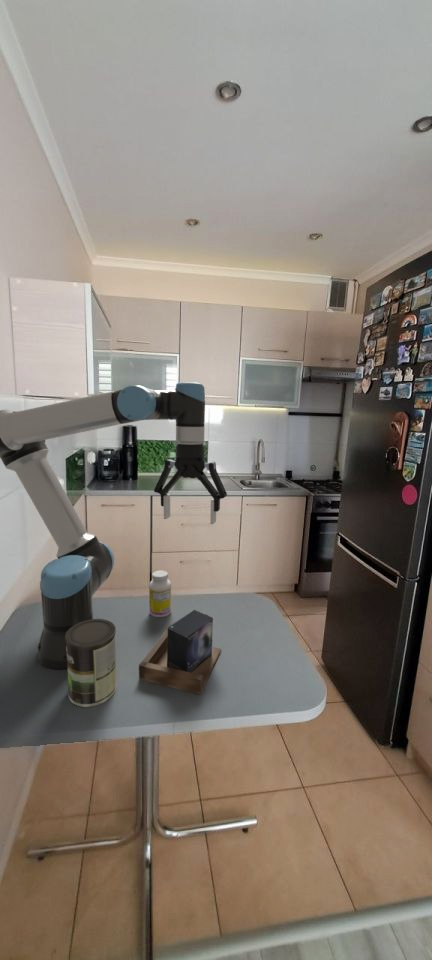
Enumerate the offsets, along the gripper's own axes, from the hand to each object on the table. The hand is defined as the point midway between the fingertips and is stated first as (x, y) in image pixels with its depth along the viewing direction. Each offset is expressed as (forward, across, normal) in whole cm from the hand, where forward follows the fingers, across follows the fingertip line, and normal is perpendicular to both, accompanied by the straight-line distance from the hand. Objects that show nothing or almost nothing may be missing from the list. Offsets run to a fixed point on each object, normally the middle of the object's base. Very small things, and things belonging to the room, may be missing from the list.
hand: (189, 520), depth 101 cm
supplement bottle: (+32, +11, -4) cm, 34 cm away
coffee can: (+32, +11, +30) cm, 45 cm away
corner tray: (+32, -4, +16) cm, 36 cm away
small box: (+31, -6, +15) cm, 35 cm away
